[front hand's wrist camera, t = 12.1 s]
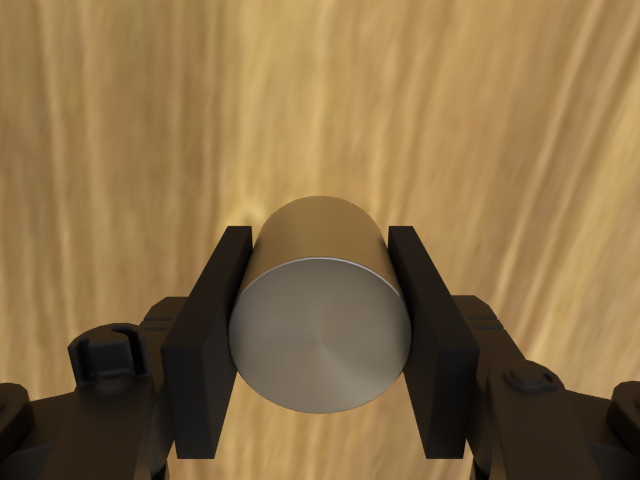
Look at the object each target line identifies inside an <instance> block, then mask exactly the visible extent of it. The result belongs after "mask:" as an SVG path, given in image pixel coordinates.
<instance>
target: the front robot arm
mask: <svg viewBox="0 0 640 480" xmlns="http://www.w3.org/2000/svg"><path fill="white" fill-rule="evenodd" d="M252 251H253V242H252V226H228V227H227V228H226V230H225V232H224V234H223V236H222V237H221V239H220V241H219V243H218V245H217V246H216V248H215V250H214V252H213V254H212V255H211V257H210V259H209V261H208V263H207V264H206V266H205V268H204V270H203V272H202V273H201V275H200V277H199V279H198V281H197V282H196V284H195V286H194V288H193V290H192V291H191V293H190V295H189V297H166V298H164V299H163V300H161V301H160V302H158V303H157V304H155V305H154V306H152V307H151V309H150V310H149V312H148V313H147V315H146V316H145V318H144V321H142V322H141V323H140V325H139V326H138V325H134V324H130V323H113V324H108V325H103V326H99V327H96V328H94V329H91V330H89V331H86V332H84V333H83V334H81V335H80V336H78V337H77V338H75V339H74V340H73V341H72V342H71V344H70V345H69V346H68V347H67V349H68V353H69V357H70V361H71V365H72V369H73V372H74V376H75V380H76V384H77V386H76V388H75V390H74V392H71V393H67V394H63V395H59V396H54V397H50V398H45V399H40V400H35V401H31V402H30V399H29V395H28V392H27V390H26V389H25V388H24V387H23V386H21V385H20V384H14V383H0V480H169V479H170V475H169V469H168V463H167V457H168V454H169V452H170V449H171V447H172V444H173V441H174V440H175V447H176V453H177V459H214V457H215V453H216V450H217V446H218V442H219V438H220V435H221V431H222V427H223V423H224V419H225V416H226V412H227V408H228V404H229V401H230V397H231V393H232V389H233V386H234V382H235V378H236V374H237V369H236V367H235V365H234V363H233V361H232V358H231V355H230V352H229V347H228V337H227V328H228V322H229V317H230V314H231V311H232V308H233V305H234V302H235V299H236V297H237V294H238V291H239V288H240V285H241V282H242V280H243V277H244V274H245V271H246V268H247V265H248V263H249V260H250V257H251V254H252ZM388 252H389V255H390V258H391V261H392V264H393V267H394V270H395V272H396V275H397V278H398V281H399V284H400V287H401V290H402V293H403V295H404V298H405V301H406V304H407V307H408V310H409V313H410V316H411V320H412V326H413V343H412V349H411V353H410V356H409V359H408V362H407V364H406V366H405V368H404V370H403V373H404V377H405V380H406V384H407V388H408V392H409V395H410V399H411V403H412V407H413V411H414V414H415V418H416V422H417V426H418V429H419V433H420V437H421V441H422V444H423V448H424V452H425V456H426V459H463V455H464V449H465V443H466V438H467V441H468V443H469V446H470V449H471V451H472V454H473V456H474V457H473V463H472V469H471V474H470V480H640V382H639V381H628V382H622V383H620V384H619V385H617V386H616V387H615V388H614V390H613V394H612V397H611V400H609V399H604V398H600V397H595V396H590V395H585V394H581V393H577V392H573V391H569V390H566V389H565V387H564V385H563V383H562V382H561V381H560V379H559V378H558V376H557V375H556V374H554V373H553V372H552V371H550V370H549V369H548V368H546V367H544V366H542V365H540V364H537V363H535V362H533V361H529V360H526V359H525V357H524V356H523V354H522V353H521V352H520V350H519V349H518V347H517V346H516V344H515V343H514V341H513V340H512V338H511V337H510V336H509V334H508V333H507V331H506V330H505V329H504V327H503V325H502V324H501V322H500V321H499V320H497V317H496V315H495V314H494V312H493V311H492V309H491V308H490V306H489V305H487V304H486V303H484V302H483V301H482V300H480V299H479V298H477V297H476V296H474V295H451V294H450V293H449V291H448V289H447V287H446V285H445V284H444V282H443V280H442V278H441V276H440V275H439V273H438V271H437V269H436V267H435V266H434V264H433V262H432V260H431V258H430V257H429V255H428V253H427V251H426V249H425V248H424V246H423V244H422V242H421V240H420V239H419V237H418V235H417V233H416V231H415V230H414V228H413V226H389V232H388Z"/></svg>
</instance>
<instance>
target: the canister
mask: <svg viewBox="0 0 640 480" xmlns="http://www.w3.org/2000/svg"><path fill="white" fill-rule="evenodd" d="M227 337H228V347H229V352H230V355H231V358H232V361H233V363H234V365H235V367H236V369H237V371H238V372H239V374H240V375H241V377H242V378H243V379H244V380H245V381H246V383H247V384H248V385H249V386H250V387H251V388H252V389H253V390H255V391H256V392H257V393H258V394H260V395H261V396H263V397H264V398H265V399H267V400H269V401H271V402H273V403H275V404H277V405H279V406H282V407H284V408H287V409H291V410H295V411H299V412H305V413H317V414H323V413H335V412H342V411H346V410H350V409H353V408H356V407H359V406H361V405H364V404H366V403H368V402H370V401H372V400H373V399H375V398H376V397H378V396H379V395H381V394H382V393H383V392H385V391H386V390H387V389H388V388H389V387H390V386H391V385H392V384H393V383H394V382H395V381H396V380H397V378H398V377H399V376H400V374H401V373H402V371H403V370H404V368H405V366H406V364H407V362H408V359H409V356H410V353H411V349H412V343H413V326H412V320H411V316H410V313H409V310H408V307H407V304H406V301H405V298H404V295H403V293H402V290H401V287H400V284H399V281H398V278H397V275H396V272H395V270H394V267H393V264H392V261H391V258H390V255H389V252H388V249H387V247H386V244H385V241H384V238H383V235H382V233H381V231H380V229H379V227H378V226H377V224H376V223H375V221H374V220H373V219H372V218H371V217H370V216H369V215H368V214H367V213H366V212H365V211H364V210H362V209H361V208H359V207H358V206H356V205H354V204H352V203H350V202H348V201H346V200H343V199H340V198H335V197H331V196H311V197H305V198H301V199H298V200H295V201H292V202H290V203H288V204H286V205H284V206H283V207H281V208H280V209H278V210H277V211H276V212H275V213H274V214H272V215H271V216H270V218H269V219H268V220H267V221H266V222H265V224H264V225H263V227H262V228H261V230H260V232H259V235H258V237H257V240H256V243H255V246H254V248H253V251H252V254H251V257H250V260H249V263H248V265H247V268H246V271H245V274H244V277H243V280H242V282H241V285H240V288H239V291H238V294H237V297H236V299H235V302H234V305H233V308H232V311H231V314H230V317H229V322H228V328H227Z"/></svg>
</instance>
